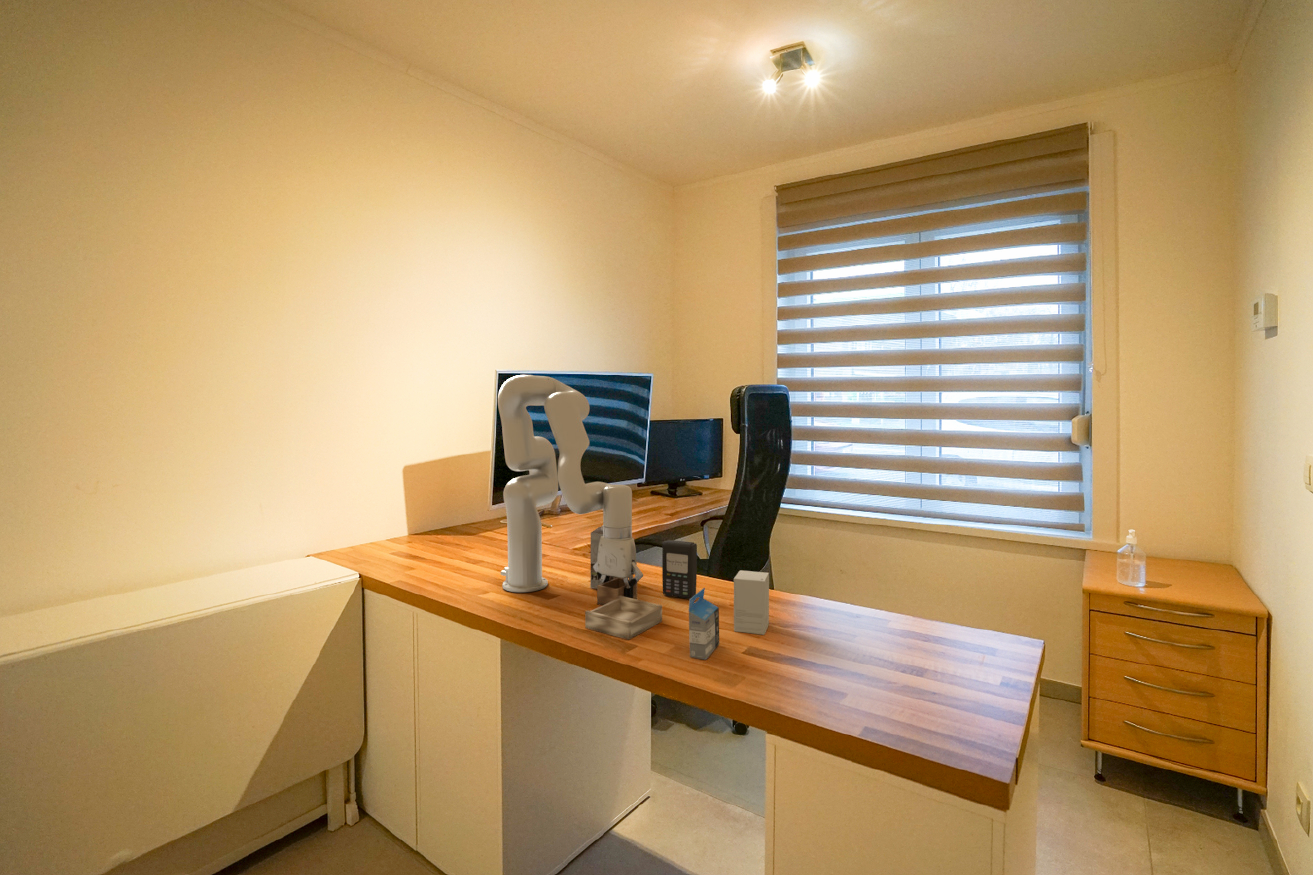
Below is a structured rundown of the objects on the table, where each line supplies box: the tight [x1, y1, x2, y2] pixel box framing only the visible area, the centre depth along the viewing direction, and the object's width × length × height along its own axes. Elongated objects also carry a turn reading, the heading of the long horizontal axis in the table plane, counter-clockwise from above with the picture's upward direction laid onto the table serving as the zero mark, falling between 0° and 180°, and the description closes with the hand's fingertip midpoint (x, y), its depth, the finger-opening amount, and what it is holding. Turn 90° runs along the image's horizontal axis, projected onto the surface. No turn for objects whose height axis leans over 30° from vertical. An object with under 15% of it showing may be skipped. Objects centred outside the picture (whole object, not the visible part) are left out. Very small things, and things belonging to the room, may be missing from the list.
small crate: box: [596, 578, 638, 606], centre depth 159 cm, size 6×9×5 cm
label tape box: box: [688, 587, 720, 660], centre depth 128 cm, size 9×4×12 cm, turn 155°
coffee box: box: [589, 526, 617, 590], centre depth 174 cm, size 9×6×16 cm
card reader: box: [661, 539, 698, 600], centre depth 164 cm, size 9×4×15 cm, turn 67°
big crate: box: [584, 596, 663, 641], centre depth 143 cm, size 13×14×4 cm
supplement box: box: [733, 569, 770, 636], centre depth 141 cm, size 7×7×13 cm
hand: (617, 598), depth 159 cm, fingers closed on small crate, 6 cm apart
